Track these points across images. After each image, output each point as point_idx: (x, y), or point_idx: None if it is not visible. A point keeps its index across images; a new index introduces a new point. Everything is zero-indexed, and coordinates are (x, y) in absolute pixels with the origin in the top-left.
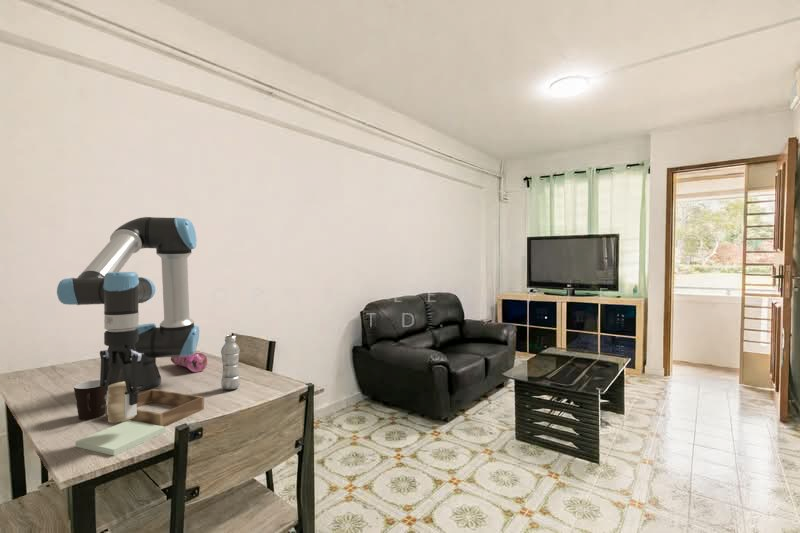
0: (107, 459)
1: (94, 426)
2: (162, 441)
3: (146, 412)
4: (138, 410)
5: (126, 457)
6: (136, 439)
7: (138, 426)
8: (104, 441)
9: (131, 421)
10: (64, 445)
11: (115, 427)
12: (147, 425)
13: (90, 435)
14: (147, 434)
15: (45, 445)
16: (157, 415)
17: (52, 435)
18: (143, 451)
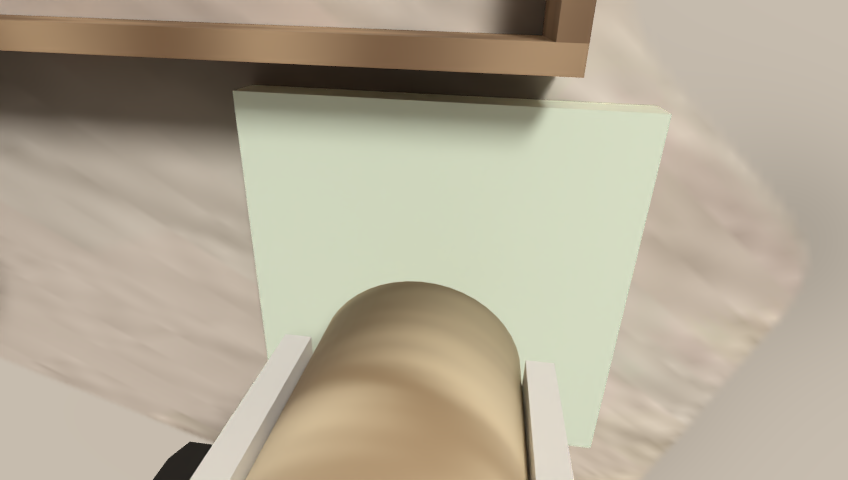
0: (583, 449)
1: (67, 173)
2: (754, 236)
3: (374, 66)
4: (247, 53)
5: (670, 422)
6: (616, 337)
7: (434, 172)
8: None
9: (284, 111)
10: (218, 384)
11: (286, 229)
12: (489, 136)
13: (271, 349)
14: (633, 265)
15: (138, 398)
16: (538, 73)
17: (24, 319)
18: (719, 361)
